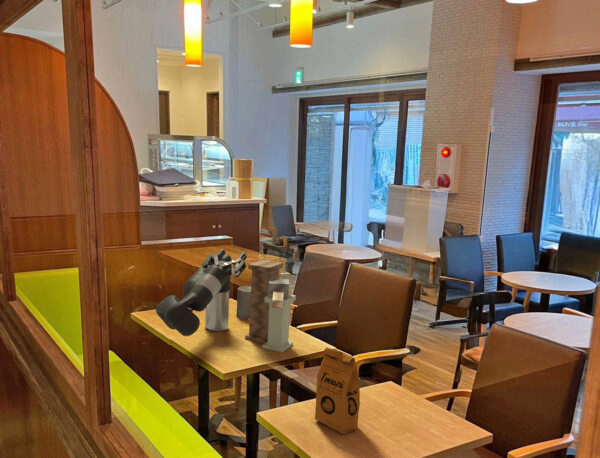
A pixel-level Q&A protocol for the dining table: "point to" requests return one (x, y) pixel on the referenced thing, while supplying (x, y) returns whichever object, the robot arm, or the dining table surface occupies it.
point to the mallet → (278, 291)
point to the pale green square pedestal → (279, 325)
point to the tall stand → (261, 298)
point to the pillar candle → (243, 302)
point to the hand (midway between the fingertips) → (234, 252)
